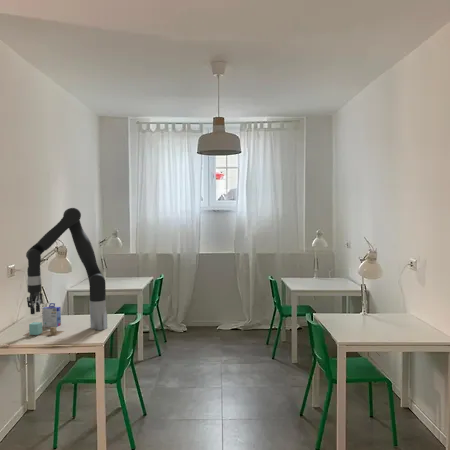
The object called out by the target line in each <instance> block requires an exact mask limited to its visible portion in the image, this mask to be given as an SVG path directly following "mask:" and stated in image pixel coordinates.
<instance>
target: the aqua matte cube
mask: <svg viewBox="0 0 450 450" xmlns="http://www.w3.org/2000/svg"><path fill="white" fill-rule="evenodd" d="M28 329H29V330H28V331H29V332H28V333H29V335H39V334H41V333H42V331H43V321H41V322H40V321H38V322H37V321H36V322H35V321H34V322H31V323H29V324H28Z"/></svg>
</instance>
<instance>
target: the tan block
mask: <svg viewBox="0 0 450 450" xmlns="http://www.w3.org/2000/svg"><path fill="white" fill-rule="evenodd" d="M49 331H50V335H56V334H57V331H58V330H57V327H50V328H49Z"/></svg>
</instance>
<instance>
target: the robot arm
mask: <svg viewBox="0 0 450 450" xmlns="http://www.w3.org/2000/svg"><path fill="white" fill-rule="evenodd" d="M81 216H82V213H81V211H80V210H79V209H78V208H75V207H70V208H67V209H66V210H65V211H64V212H63V215H62V217H61V219H60V220H59V221H58V222H57V223H56V224H55V225H54V226H53V227H52V228H51V229H50V230H48V231H47V232H46V233H45V234H44V235H42V237H41V238H40V239H39V240H38V241H37V242H36V243H35V244H33V246H31V247H30V248H29V249H28V250H27V252H26V253H25V257H26V259H27V261H28V262H27V265H28V266H27V280H26V283H27V286H26V287H27V293H28V294H29V296H27V298H26V301H27V307H28V308H30V315H35V313H40V312H41V304H43V292H42V291H43V290H42V289H43V288H42V277H41V276H42V275H41V261H42V255H43V253H44V252H45V251H48V249H49V248H51V247H52V246H53V245H54V244H55V243H56V242H57V241H58V240H59V239H60V237H61V236H62V235H63V234H64V233H65V232H67V230H68V229H69V232H70V235H71V238H72V242H73V245H74V248H75V250H76V252H77V255H78V257H79V260H80V262H81V263H82V265H83V267H84V269H85V271H86V274H87V278H88V283H89V317H90V319H89V322H90V324H89V326H90V330H94V331H101V330H102V331H104V330H105V329H106V330H107V328H108V311H107V307H106V306H107V305H106V301H107V300H106V295H107V294H106V292H107V291H106V290H107V289H106V288H107V287H106V279H105V277H104V275H103V274H102V272H101V269H100V267H99V265H98V263H97V259H96V255H95V250H94V248H93V245H92V243H91V241H90V239H89V237H88V235H87V234H86V232H85V231H84V229H83V226H82V223H81Z"/></svg>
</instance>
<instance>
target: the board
mask: <svg viewBox="0 0 450 450" xmlns="http://www.w3.org/2000/svg"><path fill="white" fill-rule="evenodd" d="M64 332H65V330H57V334H56V335H50V330H42V333H41V334H39V335H29V332H27V333H26V334H25V333H24V334H23V335H22V336H25V337H26V336H27V337H28V336H29V337H30V336H32V337H33V336H34V337H35V336H36V337H37V336H38V337H39V336H40V337H42V336H44V337H57V336H58V335H60V334H62V333H64Z"/></svg>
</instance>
